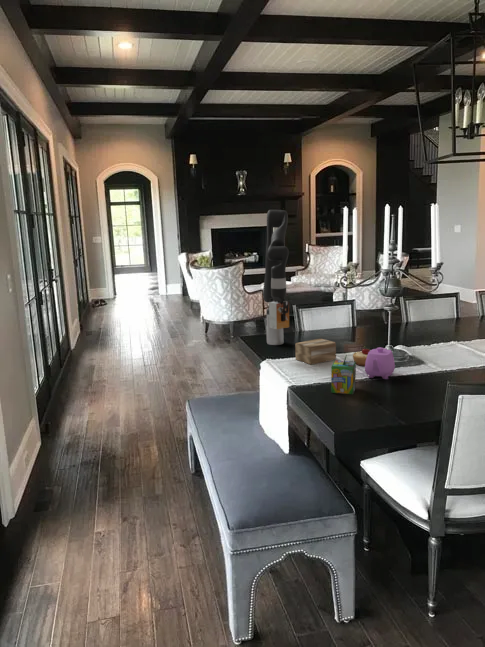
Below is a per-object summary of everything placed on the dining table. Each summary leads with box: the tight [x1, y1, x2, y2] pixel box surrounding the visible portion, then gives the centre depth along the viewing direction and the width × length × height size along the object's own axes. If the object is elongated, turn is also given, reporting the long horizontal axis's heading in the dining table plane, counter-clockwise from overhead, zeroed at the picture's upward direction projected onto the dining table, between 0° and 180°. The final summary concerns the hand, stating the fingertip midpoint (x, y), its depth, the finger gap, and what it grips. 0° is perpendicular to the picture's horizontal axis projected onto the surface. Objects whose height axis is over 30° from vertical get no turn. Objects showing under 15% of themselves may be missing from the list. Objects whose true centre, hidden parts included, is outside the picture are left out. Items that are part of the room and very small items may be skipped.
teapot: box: [364, 346, 396, 380], centre depth 232 cm, size 20×12×13 cm, turn 153°
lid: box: [295, 337, 336, 348], centre depth 262 cm, size 12×16×1 cm
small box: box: [268, 302, 290, 329], centre depth 264 cm, size 8×6×13 cm
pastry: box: [352, 347, 371, 367], centre depth 253 cm, size 12×12×9 cm
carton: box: [294, 343, 337, 365], centre depth 263 cm, size 12×16×8 cm
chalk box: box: [330, 354, 357, 395], centre depth 214 cm, size 9×9×15 cm
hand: (279, 320), depth 264 cm, fingers closed on small box, 6 cm apart
